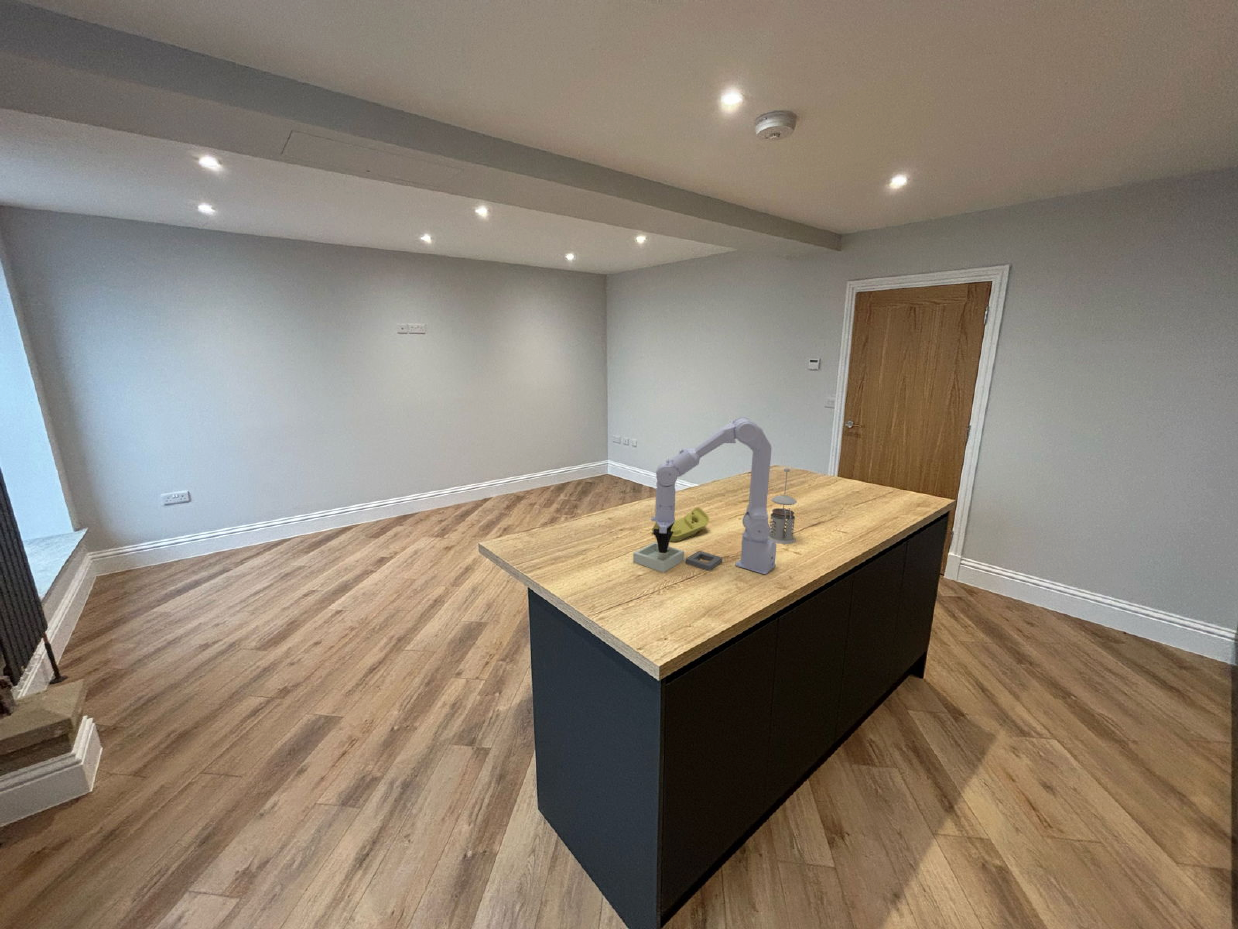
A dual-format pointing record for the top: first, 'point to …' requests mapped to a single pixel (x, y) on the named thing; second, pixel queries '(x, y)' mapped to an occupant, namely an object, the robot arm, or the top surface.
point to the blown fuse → (663, 554)
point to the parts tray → (650, 557)
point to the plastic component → (688, 524)
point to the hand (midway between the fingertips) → (663, 547)
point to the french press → (782, 519)
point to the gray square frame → (696, 562)
